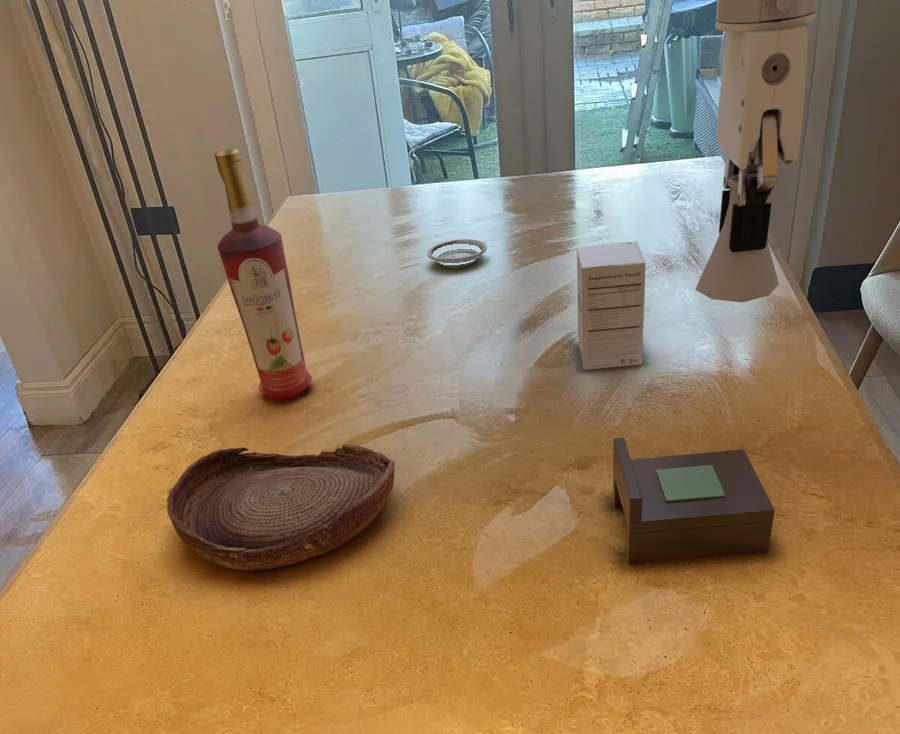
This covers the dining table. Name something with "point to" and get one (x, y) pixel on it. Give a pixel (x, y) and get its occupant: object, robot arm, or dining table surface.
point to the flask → (737, 265)
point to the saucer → (458, 253)
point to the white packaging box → (610, 304)
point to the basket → (277, 504)
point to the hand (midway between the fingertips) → (741, 239)
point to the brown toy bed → (690, 505)
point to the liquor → (261, 288)
